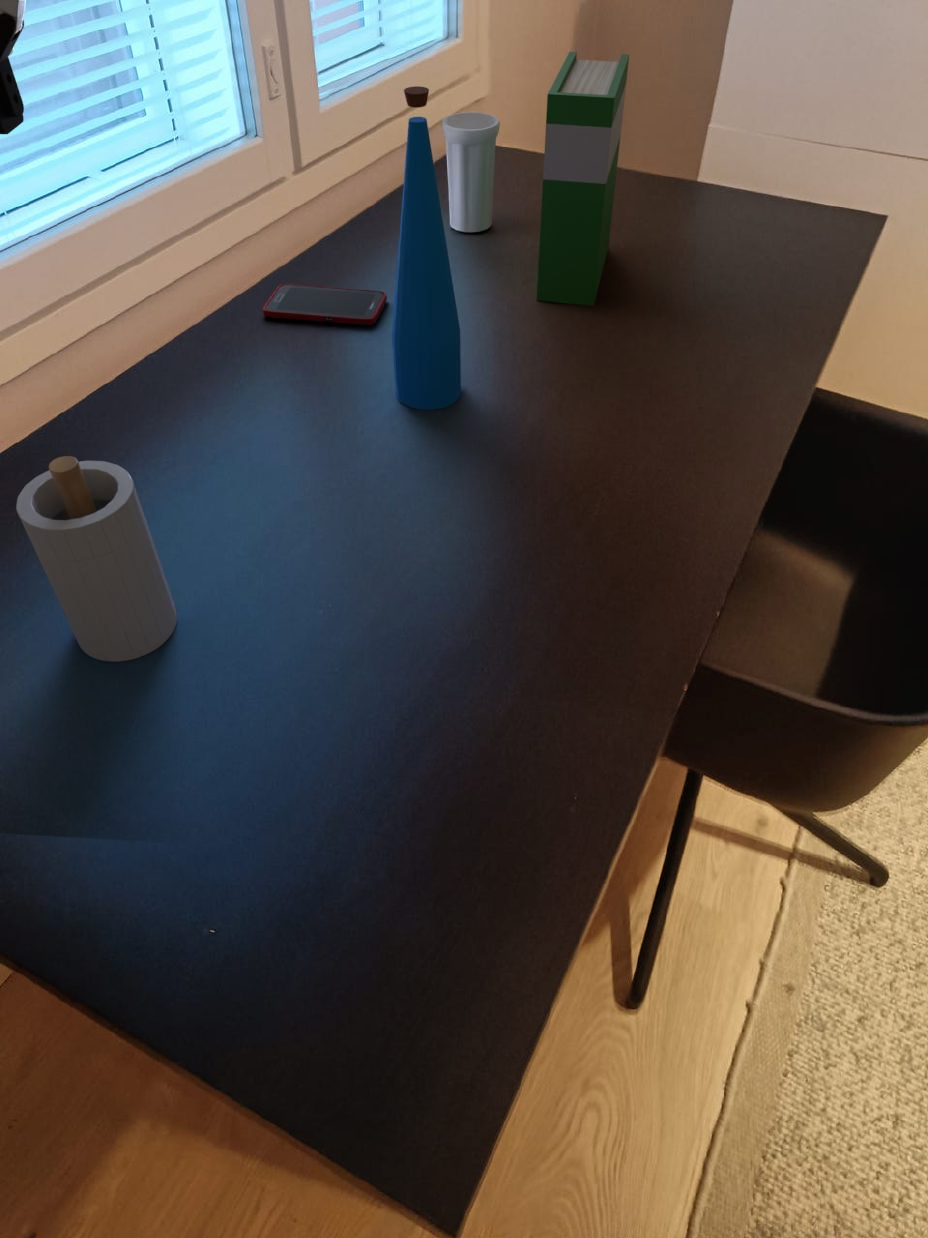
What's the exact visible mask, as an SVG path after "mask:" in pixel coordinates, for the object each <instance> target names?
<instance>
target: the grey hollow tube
mask: <svg viewBox="0 0 928 1238" xmlns="http://www.w3.org/2000/svg"><path fill="white" fill-rule="evenodd" d="M78 463H79V465H80V468H81V471H82V473H83V476H84V478H85V481H86V484H87V486H88V489H89V491H90V494H91V497H92V499H93V502H94V505H95V507H96V510H97V512H95V513H93V514H90V515H87V516H85V517H82V518H77V519H71V520H70V518H69V516H68V513H67V511H66V509H65V506H64V504H63V501H62V499H61V497H60V494H59V492H58V489H57V487H56V484H55V482H54V480H53V477H52V475H51V472H50V470H49V469H48V470H47V471H44V472H43V473H41V474H39V475H37V476H35V477H34V478H33V479H31V480H30V481H29V482H28V483H26V484H25V486H24V487H23V489H22V490H21V491H20V493H19V495H18V496H17V498H16V505H15V510H16V512H17V514H18V517H19V519H20V521H21V523H22V525H23V528H24V530H25V532H26V534H27V536H28V538H29V541H30V543H31V545H32V547H33V549H34V552H35V553H36V555H37V558H38V560H39V562H40V564H41V567H42V569H43V571H44V573H45V575H46V578H47V579H48V581H49V584H50V586H51V588H52V591H53V592H54V594H55V597H56V599H57V600H58V603H59V605H60V608H61V609H62V611H63V613H64V616H65V618H66V620H67V622H68V624H69V626H70V629H71V631H72V633H73V635H74V637H75V640H76V641H77V644H78V646H79V647H80V649H81V650H82V651H83V652H84V653H85V654H86V655H87V656H89V657H91V658H93V659H95V660H98V661H103V662H111V663H116V662H117V663H119V662H126V661H127V662H128V661H131V660H135V659H139V658H141V657H144V656H146V655H148V654H150V653H152V652H153V651H156V650H157V649H158V648H160V647H162V645H163V644H164V643H166V641H167V640H169V638H170V637H171V636H172V634H173V633H174V631H175V629H176V626H177V622H178V613H177V609H176V605H175V601H174V598H173V595H172V593H171V590H170V587H169V584H168V581H167V578H166V575H165V572H164V569H163V566H162V562H161V560H160V557H159V554H158V551H157V548H156V545H155V542H154V540H153V539H154V538H153V536H152V533H151V530H150V528H149V523H148V522H147V518H146V515H145V513H144V509H143V506H142V504H141V500H140V497H139V494H138V491H137V489H136V486H135V483H134V479H133V478H132V477H131V474H130V473H129V472H128V470H126V469H124V468H123V467H122V466H120V465H118V464H115V463H112V462H108V461H104V460H83V461H78Z"/></svg>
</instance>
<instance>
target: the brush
mask: <svg viewBox="0 0 928 1238" xmlns="http://www.w3.org/2000/svg"><path fill="white" fill-rule="evenodd" d="M78 462H79V460H78V459H77V458H76V457H75V456H71V455H63V456H60V457H57V458H55V459H52V461H50V463H49V464H48V471H49V470H50V472H51V475H52V477H53V480H54V482H55V484H56V487H57V489H58V492H59V494H60V497H61V499H62V501H63V504H64V506H65V509H66V511H67V513H68V516H69V518H70V520H71V519H77V518H82V517H85V516H87V515H90V514H93V513H95V512H97V510H96V507H95V505H94V502H93V499H92V497H91V494H90V491H89V489H88V486H87V484H86V481H85V478H84V476H83V473H82V471H81V468H80V465H79V463H78Z"/></svg>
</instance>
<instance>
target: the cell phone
mask: <svg viewBox="0 0 928 1238" xmlns="http://www.w3.org/2000/svg"><path fill="white" fill-rule="evenodd" d="M387 297H388V296H387V293H386V292H385V291H380V290H370V289H354V288H346V287H345V288H343V287H331V286H330V287H329V286H317V285H304V284H293V283H283V284H280V285H278V286H277V288H276V289H275V290H274V292H273V293H272V294H271V296H270V297H269V299H268V300H267V302H266V303H265V304H264V306H263V307H262V314H263V316H264V317H267V318H274V319H285V320H286V319H287V320H299V321H309V322H310V321H311V322H324V323H333V324H335V323H336V324H347V325H359V326H360V325H361V326H372V325H374V324H375V323H376V322H377V320H378V318H379V317H380V314H381V313H382V310H383V309H384V307H385V305H386V303H387V299H388V298H387Z"/></svg>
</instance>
